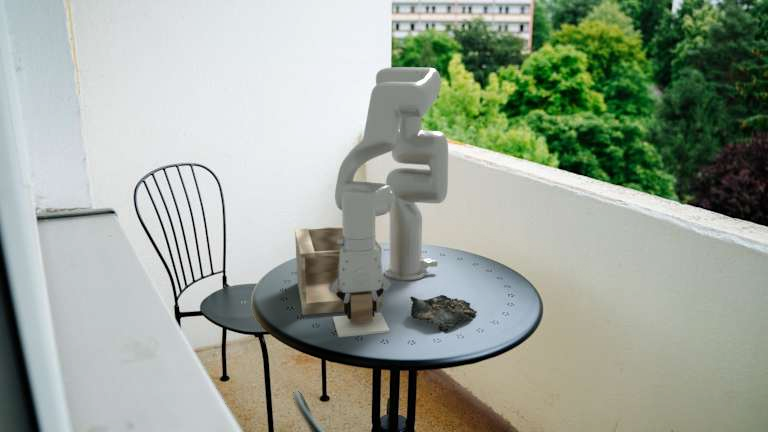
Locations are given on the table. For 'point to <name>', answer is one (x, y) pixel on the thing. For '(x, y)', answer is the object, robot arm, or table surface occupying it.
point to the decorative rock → (441, 311)
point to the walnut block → (361, 307)
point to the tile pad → (360, 326)
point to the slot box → (319, 269)
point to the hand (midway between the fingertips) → (360, 314)
